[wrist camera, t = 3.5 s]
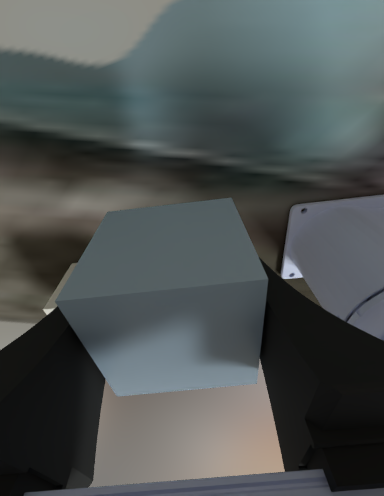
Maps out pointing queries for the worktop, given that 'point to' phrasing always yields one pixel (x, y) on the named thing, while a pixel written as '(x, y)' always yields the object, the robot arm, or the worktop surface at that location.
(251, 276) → the cover
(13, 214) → the worktop surface
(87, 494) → the robot arm
